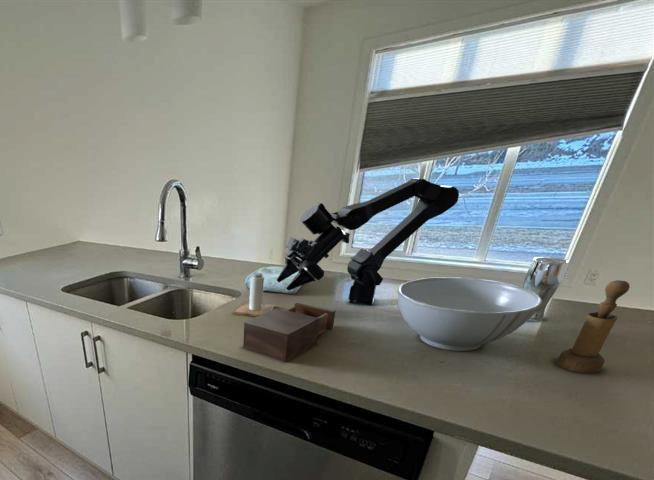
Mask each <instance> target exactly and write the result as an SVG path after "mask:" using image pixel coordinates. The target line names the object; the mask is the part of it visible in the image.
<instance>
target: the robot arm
mask: <svg viewBox="0 0 654 480" xmlns="http://www.w3.org/2000/svg"><path fill="white" fill-rule="evenodd" d="M413 197H415V198H417V199H418V201H417V203H416V206H415V208H414V209H413V210H412V211H411V212H410V213H409V214H408V215H407V216H406V217H405V218H404V219H403V220H402V221H400V222H399V223H398V224H397V225H396V226H394V228H393V229H392V230H390V231H389V232H388V233H387V234H386V235H385V236H384V237H383V238H381V240H380V241H378V242H377V243H376V244H375V245H374V246H373V247H371V248H369V249H365V248H360V249H359V251H357V253H356V254H355V255H353V256H351V257H350V260H349V262H348V263H347V267H346V268H347V269H346V271H347V273H348V274H349V276H350V279H351V280H352V281H353V282H352V284H351V286H350V288H349V293H348V303H349V304H354V305H363V306H365V305H366V306H372V305H373V303H374V301H375V295H376V289H377V286H381V284H382V282H383V280H384V277H383V276H381V274H380V273H379V270H380V269H381V268H382V266H383V264H384V261H385V260H386V258H387V257H389V255H391V254H392V253H393V252H394V251H395V250H396V249H397V248H399V247H400V246H401V245H402V244H403V243H404V242H405V241H407V239H409V238H410V237H411V236H412V235H413V234H415V232H417V231H418V230H419V229H420V228H421V227H422V226H423V225H424V224H425V223H427V222H428V221H430V220H432V219H433V218H436V217H438V216H441V215H443V214H445V213H446V212H448V210H451V209H452V208H453V207H454V206H455V205H456V204H457V203H458V202H459V197H460V191H459V189H458V188H457V187H455V186H449V185H440V184H437V183H434V182H431V181H429V180H427V179H425V178H417V177H413V178H411V179H409V180H407V181H406V182H404V183H402V184H400V185H398V186H395V187H394V188H392V189H390V190H387V191H385V192H383V193H382V194H379V195H377V196H375V197H373V198H371V199H369V200H366V201H363V202H362V201H361V202H356V203H352V204H349V205H347V206H346V205H345V206H342V208H340V209H339V210H338V211H335V212H331V213H330V212H329V210H328V209H327V208H326V206H325V204H324V203H322V202H317V203H316V204H315V205H314V206H313V205H312V206H311V208H309V209H307V210H305V212H304V213H303V214H302V215H301V217H300V219H299V220H300V222H301V223H302V225H303V226H304V227H305V228H306V229H307V230H308V231H309V232H310V233H311V234H312V235H318V236H316V237H315V239H314V240H312V239H310V240H308V239H306V238H303V237H302V238H300V239H298V238H295V237H292V236H290V237H289V239H288V241H287V243H286V246H285V248H287V249H288V250H287V251H286V252H285V254H284V255H285V256H284V259H285V264H284V266H283V267H284V268H283V270H282V271H281V273H280V275H279V277H278V278H277V281H278V282H281V281H283V280H284V279H286V278H288V277H289V276H291V275H293V274H294V273H296V272H298V274H297V275H296V276H295V277H294V279H293V280H292V281H291V282H290V283H289V285H288V286H287V287H286V289H287V290H291V289H294V288H296V287H299V286H301V285H302V286H304V285H307V284H310V283H312V282H313V283H314V282H316V281H318V282H319V281H320V280H322V279H323V278H324V276H325V271H324V269H322V267H321V266H320V265H319V263H320V262H321V261H322V260H323V259H324V258H325V259H328V258H329V257H330V255H329V253H330V252H332V250H333V249H334V248H336V246H338V244H339V243H340V242H342V243H345V244H349V243H350V235H351V233H349V232H347V231H346V232H345V231H344V230H343V229H346V230H349V231H355V230H357V229H360V228H361V227H362V226H364V225H365V224H367V223H368V222H370V220H371V219H372V218H373V217H375V216H376V215H377V214H378V215H379V214H380V213H382V212H384V211H386V210H388V209H391V208H393V207H395V206H397V205H400V204H401V203H403V202H405V201H408V200H409V199H412V198H413ZM334 224H336V225H337V226H334ZM298 268H299V269H298ZM302 286H301V287H302Z"/></svg>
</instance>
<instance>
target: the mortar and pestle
mask: <svg viewBox="0 0 654 480" xmlns="http://www.w3.org/2000/svg"><path fill="white" fill-rule="evenodd" d="M630 288H631V287H630V283H629V282H628V281H626V280H618V279H617V280H612V281H610V282H608V283H607V284H606V285H605V288H604V293H605V299H604V301H601V302H600V303H599V305H598V312H589V313H587V315H586V318H585V321H584V322H583V325H582V327H581V329H580V331H579V333H578V336H577V338H576V340H575V341H574V343H573V346H572V348H567V349H564V350H562V351H561V352H560V354H559V356H558V357H557V359H556V364H557V365H558V366H559V367H562V368H564V369H566V370H569V371H573V372H576V373H583V374H595V373H599V372H600V371H601V370H602V368H603V366H604V364H605V362H606V359H605V357H603V355H601V353H600V352H601V351H602V348H603V346H604V344H605V342H606V341H607V338H608V337H609V334H610V333H611V330H612V329H613V327H614V325H615V323H616V321H617V320H618V316H617V315H615V314H612V312H613V311H614V310H615V309H616V308H617V307H618V304H617V301H618V300H619V298H621V297H622V296H624V295H626V294H627V292H629V290H630Z"/></svg>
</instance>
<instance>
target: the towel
mask: <svg viewBox="0 0 654 480" xmlns="http://www.w3.org/2000/svg"><path fill="white" fill-rule="evenodd" d="M283 268H284V266H279V265H278V266H263V267H259V268H258V269H257V270H255V271H253V272H252V273H250V274H248V276H246V278H245V280H244V281H245V282H244V287H245V288H246V289H250V277H251V276H253V273H262V276H264V284H263V292H271V293H280V294H290V295H294V294H297V292H298V291H299V289H300V288H301V287H302V286H303V285H301V286H299V287H296V288H294V289H291V290H287V289H286V287H287V286H288V285H289V283H290V282H291V281H292V280H293V279H294V277H295V276H296V275H297V274H298V272H296V273H294V274H293V275H291V276H289V277H288V278H286V279H284V280H283V281H281V282H278V281H277V278H278V277H279V275H280V273H281V271H282V270H283ZM297 268H298V269H299V267H297Z"/></svg>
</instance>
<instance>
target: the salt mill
mask: <svg viewBox="0 0 654 480" xmlns="http://www.w3.org/2000/svg"><path fill="white" fill-rule="evenodd" d="M252 273H253V272H252ZM263 284H264V276H262V273H253V276H251V277H250V288H249V298H248V300H249V301H248V302H249V309H250V310H261V309H262V304H263V299H264V298H263V297H264V291H263Z"/></svg>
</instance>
